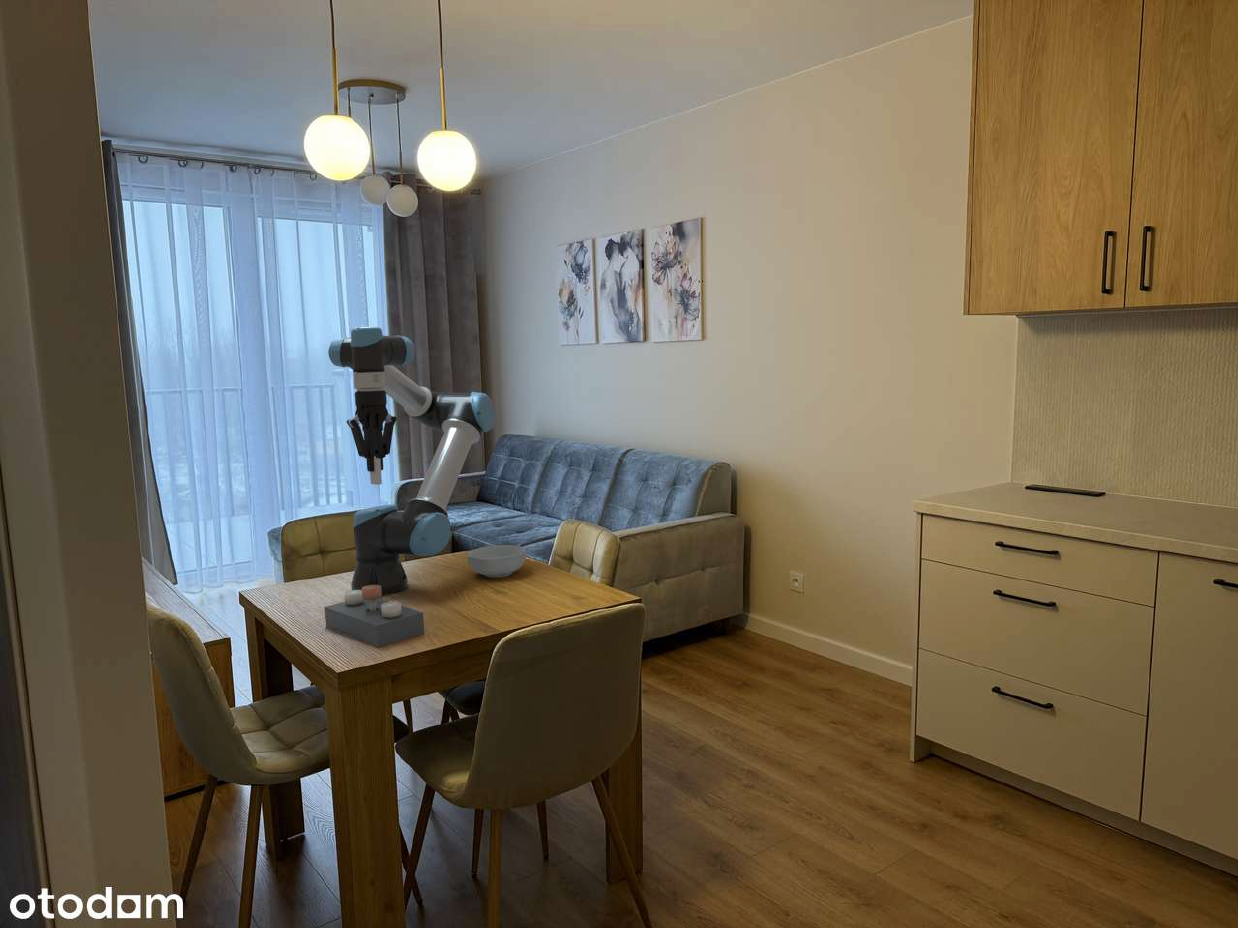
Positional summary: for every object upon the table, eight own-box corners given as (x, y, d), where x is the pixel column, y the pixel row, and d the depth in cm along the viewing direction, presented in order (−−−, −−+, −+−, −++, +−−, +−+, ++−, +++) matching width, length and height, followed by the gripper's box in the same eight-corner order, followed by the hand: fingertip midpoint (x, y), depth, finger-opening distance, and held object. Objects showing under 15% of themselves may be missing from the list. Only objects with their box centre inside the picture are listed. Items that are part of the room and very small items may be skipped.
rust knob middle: (376, 613, 196) (374, 583, 195) (386, 617, 193) (384, 586, 192) (360, 618, 193) (357, 587, 192) (370, 621, 190) (368, 590, 189)
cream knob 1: (359, 618, 202) (357, 588, 201) (369, 621, 199) (367, 591, 198) (343, 622, 199) (340, 592, 198) (352, 626, 196) (350, 596, 195)
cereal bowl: (500, 564, 254) (499, 542, 253) (538, 572, 243) (537, 548, 242) (456, 576, 241) (455, 553, 240) (495, 585, 230) (494, 560, 229)
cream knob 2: (396, 631, 191) (394, 600, 190) (406, 634, 188) (404, 603, 187) (379, 636, 188) (377, 604, 187) (390, 639, 185) (388, 608, 184)
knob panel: (370, 614, 206) (369, 595, 205) (424, 633, 190) (422, 612, 190) (325, 627, 197) (324, 606, 196) (378, 647, 181) (377, 625, 181)
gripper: (354, 391, 196) (361, 488, 199) (401, 388, 206) (407, 481, 209) (338, 391, 201) (344, 486, 204) (384, 388, 211) (390, 479, 213)
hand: (376, 483), depth 206 cm, fingers closed
